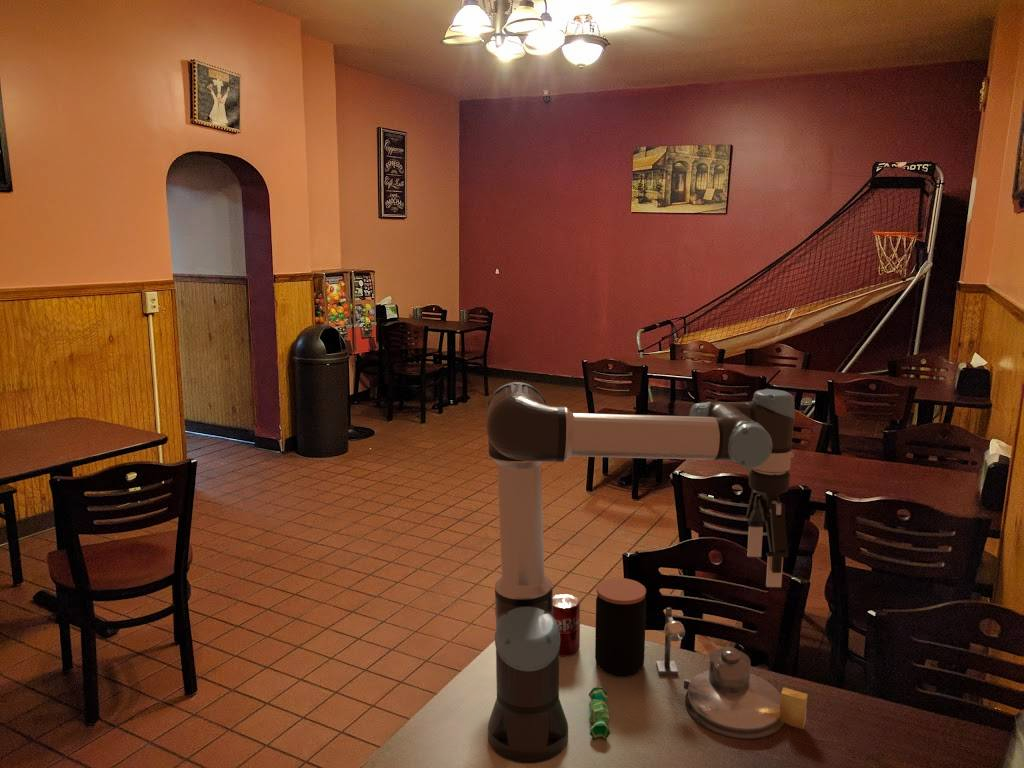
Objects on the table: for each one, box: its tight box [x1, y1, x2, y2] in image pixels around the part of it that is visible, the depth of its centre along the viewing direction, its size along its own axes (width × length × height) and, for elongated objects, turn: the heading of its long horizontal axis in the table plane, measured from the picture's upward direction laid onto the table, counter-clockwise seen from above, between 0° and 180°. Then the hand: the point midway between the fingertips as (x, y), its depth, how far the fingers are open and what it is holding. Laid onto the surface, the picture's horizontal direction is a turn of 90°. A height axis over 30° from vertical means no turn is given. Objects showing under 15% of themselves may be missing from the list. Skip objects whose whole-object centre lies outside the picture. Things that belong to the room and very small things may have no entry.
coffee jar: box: [594, 577, 647, 678], centre depth 161 cm, size 11×11×18 cm
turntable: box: [683, 669, 809, 733], centre depth 146 cm, size 21×18×6 cm
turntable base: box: [684, 690, 785, 741], centre depth 147 cm, size 19×19×1 cm
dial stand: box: [655, 606, 686, 677], centre depth 156 cm, size 4×9×15 cm, turn 178°
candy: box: [588, 686, 611, 741], centre depth 144 cm, size 12×3×4 cm
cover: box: [708, 646, 752, 693], centre depth 150 cm, size 8×8×7 cm
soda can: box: [553, 593, 581, 658], centre depth 167 cm, size 7×7×12 cm
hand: (763, 570), depth 148 cm, fingers open, 13 cm apart
